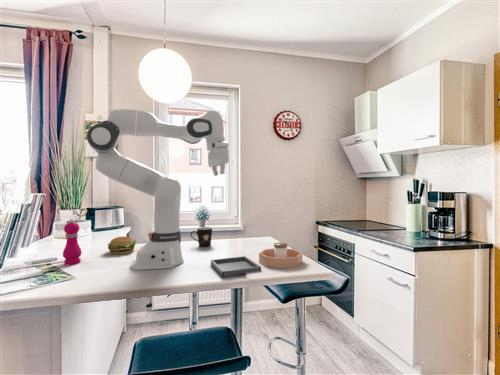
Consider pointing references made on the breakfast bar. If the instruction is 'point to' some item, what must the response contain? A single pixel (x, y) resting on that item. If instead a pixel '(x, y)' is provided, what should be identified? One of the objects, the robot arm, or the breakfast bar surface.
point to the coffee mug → (204, 236)
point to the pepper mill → (71, 244)
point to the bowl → (280, 259)
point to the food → (121, 245)
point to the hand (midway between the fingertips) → (219, 174)
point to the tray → (234, 266)
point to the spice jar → (280, 250)
